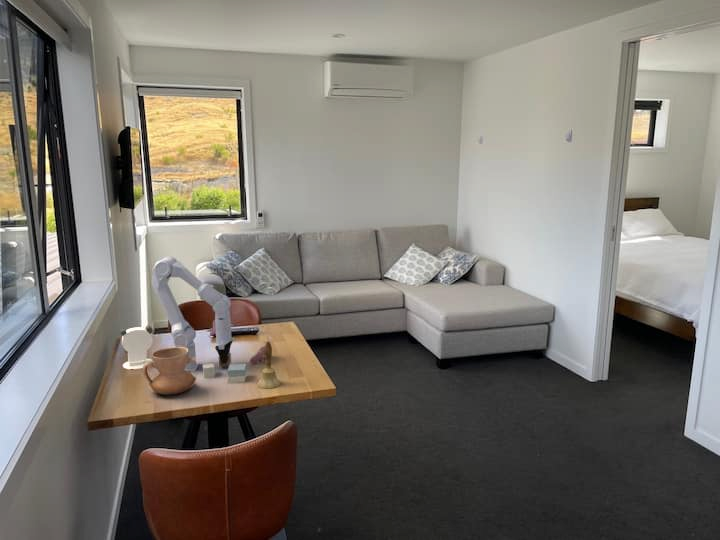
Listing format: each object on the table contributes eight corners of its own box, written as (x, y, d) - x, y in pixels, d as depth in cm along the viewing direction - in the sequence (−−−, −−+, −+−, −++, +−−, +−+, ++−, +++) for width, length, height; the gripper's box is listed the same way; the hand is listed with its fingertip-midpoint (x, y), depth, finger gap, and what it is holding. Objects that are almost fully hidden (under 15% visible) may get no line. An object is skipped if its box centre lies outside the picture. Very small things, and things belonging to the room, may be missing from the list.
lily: (238, 337, 251) (231, 318, 253) (234, 335, 240) (227, 315, 242) (213, 346, 250) (206, 327, 251) (208, 345, 238) (201, 325, 240)
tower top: (228, 377, 196) (227, 370, 195) (229, 370, 202) (229, 364, 201) (245, 376, 197) (244, 369, 196) (246, 370, 202) (245, 363, 202)
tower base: (227, 383, 196) (227, 377, 196) (230, 377, 202) (229, 371, 201) (244, 383, 197) (244, 376, 196) (246, 376, 203) (245, 370, 202)
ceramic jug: (200, 380, 199) (197, 343, 196) (196, 395, 185) (192, 356, 182) (149, 385, 196) (145, 347, 193) (141, 401, 182) (136, 361, 179)
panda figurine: (153, 357, 223) (150, 322, 220) (157, 365, 213) (153, 329, 210) (121, 362, 218) (118, 326, 215) (124, 371, 208) (120, 334, 205)
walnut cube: (219, 366, 209) (218, 356, 208) (220, 363, 213) (220, 353, 212) (229, 366, 209) (229, 356, 209) (231, 362, 213) (230, 353, 213)
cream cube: (204, 378, 201) (203, 368, 200) (203, 374, 204) (202, 364, 203) (215, 377, 202) (214, 366, 201) (214, 373, 206) (213, 363, 205)
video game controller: (258, 368, 214) (265, 353, 212) (248, 362, 215) (255, 348, 213) (267, 359, 224) (273, 345, 222) (257, 354, 224) (264, 340, 222)
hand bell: (266, 378, 200) (264, 337, 197) (285, 381, 197) (283, 340, 194) (252, 386, 193) (250, 344, 190) (272, 390, 189) (270, 347, 186)
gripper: (231, 332, 202) (233, 367, 204) (236, 321, 216) (237, 354, 218) (212, 333, 201) (214, 368, 203) (218, 322, 215) (219, 354, 218)
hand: (224, 360), depth 211 cm, fingers closed on walnut cube, 4 cm apart
